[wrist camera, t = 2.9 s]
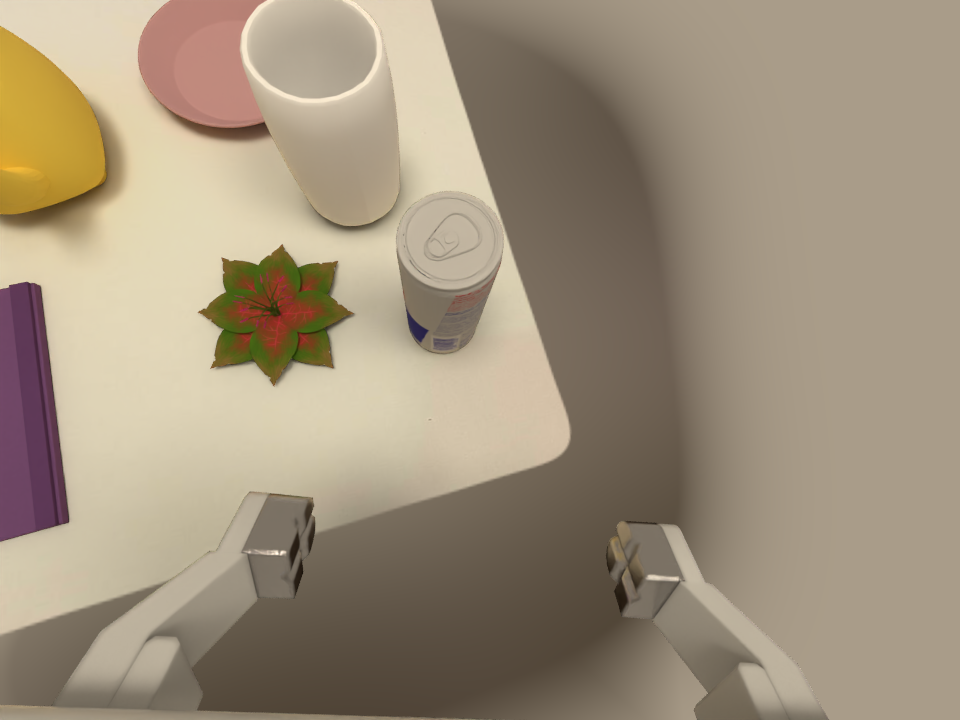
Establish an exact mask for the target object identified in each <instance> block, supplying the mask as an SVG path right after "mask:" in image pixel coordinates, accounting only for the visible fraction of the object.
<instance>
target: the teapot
mask: <svg viewBox="0 0 960 720" xmlns="http://www.w3.org/2000/svg"><path fill="white" fill-rule="evenodd" d="M106 177H107V172H106V170H105V155H104V147H103V141H102V137H101V133H100V129H99V125H98V122H97V120H96V117H95V115H94V113H93V110H92V108H91V107H90V105H89V103H88V102H87V100H86V98H85V97H84V95H83V94H82V93H81V91H80V90H79V89H78V87H77V86H76V85H75V84H74V83H73V82H72V81H71V79H69V78H68V77H67V76H66V75H65V74H64V73H63V72H62V71H61V70H60V69H59V68H58V67H57V66H56V65H55V64H54V63H53V62H51V61H50V60H49V59H48V58H47V57H45V56H44V55H43V54H42V53H40V52H39V51H38V50H36V49H35V48H34V47H32V46H31V45H29V44H28V43H26V42H25V41H24V40H22V39H21V38H19V37H18V36H16V35H14V34H13V33H11V32H10V31H8V30H6V29H5V28H3V27H1V26H0V214H19V213H24V212H29V211H33V210H37V209H40V208H44V207H47V206H50V205H54V204H57V203H59V202H62V201H65V200H68V199H70V198H72V197H75V196H77V195H80V194H82V193H84V192H86V191H88V190H90V189H92V188H93V187H96V186H99V185H101V184H102V183H103V182H104V181H105V180H106Z"/></svg>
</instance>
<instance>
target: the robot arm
mask: <svg viewBox="0 0 960 720" xmlns="http://www.w3.org/2000/svg"><path fill="white" fill-rule="evenodd" d="M313 507H314V503H313V498H311V497H301V496H291V495H281V494H272V493H261V492H249V493H248V494H247V495H246V496H245V497H244V499H243V501H242V503H241V505H240V506H239V508H238V510H237V512H236V514H235V516H234V518H233V520H232V522H231V523H230V525H229V527H228V529H227V531H226V533H225V535H224V537H223V539H222V540H221V542H220V544H219V546H218V548H217V550H216V551H209V552H207V553H206V554H205V555H203V556H202V557H201V558H199V559H198V560H196V561H195V562H194V563H192V564H191V565H190V566H188V567H187V568H186V569H184V570H183V571H182V572H180V573H179V574H177V575H176V576H175V577H173V578H172V579H171V580H169V581H168V582H167V583H165V584H164V585H163V586H161V587H160V588H158V589H157V590H156V591H154V592H153V593H152V594H151V595H149V596H148V597H146V598H145V599H144V600H142V601H141V602H140V603H138V604H137V605H135V606H134V607H133V608H131V609H130V610H129V611H127V612H126V613H125V614H123V615H122V616H121V617H119V618H118V619H116V620H115V621H114V622H112V623H111V624H110V625H108V626H107V627H106V628H104V629H103V630H102V631H101V632H100V633H99V634H98V636H97V638H96V639H95V640H94V642H93V643H92V645H91V647H90V648H89V649H88V651H87V653H86V654H85V655H84V657H83V659H82V660H81V662H80V663H79V665H78V666H77V668H76V669H75V671H74V672H73V674H72V675H71V677H70V678H69V680H68V681H67V683H66V684H65V686H64V687H63V689H62V690H61V692H60V693H59V695H58V696H57V698H56V700H55V701H54V702H53V704H52V705H51V706H18V705H17V706H16V705H0V720H494V719H463V718H429V717H395V716H361V715H358V716H357V715H327V714H293V713H259V712H224V711H197V708H198V706H199V704H200V701H201V699H202V696H203V692H202V689H201V687H200V685H199V683H198V680H197V678H196V676H195V674H194V672H193V670H192V667H193V666H194V665H195V664H196V663H197V662H198V661H199V660H200V659H201V658H202V657H203V656H204V655H205V654H206V653H207V652H208V651H209V650H210V649H211V648H212V647H213V645H214V644H215V643H216V642H217V641H218V640H219V639H220V638H221V637H222V636H223V635H224V634H225V633H226V632H227V631H228V630H229V629H230V628H231V627H232V626H233V625H234V624H235V623H236V622H237V621H238V620H239V619H240V618H241V617H242V616H243V615H244V614H245V613H246V612H247V610H249V608H250V607H251V606H252V605H253V604H254V603H255V602H256V601H257V600H258V598H291V599H294V598H295V595H296V592H297V589H298V586H299V583H300V580H301V577H302V574H303V565H302V561H303V560H304V559H305V558H306V557H307V556H308V555H309V553H310V550H311V547H312V543H313V538H314V534H315V517H314V516H313V515H312V514H311V513H312V510H313ZM616 531H617V534H618V535H617V536H615V537H613V538H612V539H611V540H610V542H609V544H608V546H607V554H606V559H607V566H608V570H609V574H610V575H611V576H612V578H613V579H614V580H615V581H616V582H617V586H616V588H615V595H616V599H617V602H618V605H619V609H620V612H621V616H622V617H633V618H645V619H653V622H654V624H655V625H656V626H657V628H658V629H659V630H660V631H661V633H662V634H663V635H664V637H665V638H666V639H667V640H668V642H669V643H670V644H671V646H672V647H673V648H674V649H675V651H676V652H677V653H678V655H679V656H680V657H681V658H682V660H683V661H684V662H685V663H686V665H687V666H688V667H689V669H690V670H691V671H692V673H693V674H694V675H695V677H696V678H697V679H698V680H699V682H700V683H701V684H702V686H703V687H704V688H705V689H706V691H707V692H708V694H707V695H706V696H705V697H704V698H703V699H702V700H701V701H700V702H699V703H697V705H696V707H695V708H694V712H695V715H696V718H697V720H829V719H828V718H827V716H826V714H825V712H824V710H823V709H822V707H821V705H820V704H819V701H818V700H817V698H816V696H815V694H814V692H813V691H812V689H811V687H810V685H809V683H808V682H807V680H806V678H805V676H804V675H803V673H802V671H801V669H800V667H799V665H798V664H797V663H796V662H795V661H794V660H793V659H792V658H791V657H790V656H789V655H788V654H786V653H785V652H784V651H783V650H782V649H781V648H780V647H779V646H778V645H777V644H776V643H775V642H774V641H772V640H771V639H770V638H769V637H768V636H767V635H766V634H765V633H764V632H763V631H762V630H760V629H759V628H758V627H757V626H756V625H755V624H754V623H753V622H752V621H751V620H750V619H749V618H747V616H745V615H744V614H743V613H742V612H741V611H740V610H739V609H738V608H737V607H736V606H735V605H734V604H732V603H731V602H730V601H729V600H728V599H727V598H726V597H725V596H724V595H723V594H722V593H721V592H720V591H718V590H717V589H716V588H715V587H714V586H713V585H712V584H711V583H705V581H704V579H703V577H702V575H701V572H700V571H699V568H698V566H697V564H696V562H695V560H694V558H693V556H692V553H691V551H690V549H689V547H688V545H687V543H686V541H685V539H684V537H683V534H682V532H681V530H680V529H679V528H678V527H677V526H676V525H669V524H656V523H648V522H631V521H622V522H620V523H619V524H618V526H617V528H616ZM495 720H496V719H495ZM497 720H498V719H497Z"/></svg>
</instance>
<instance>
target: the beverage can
mask: <svg viewBox="0 0 960 720" xmlns="http://www.w3.org/2000/svg"><path fill="white" fill-rule="evenodd" d="M396 244H397V257H398V263H399V269H400V275H401V281H402V287H403V294H404V300H405V306H406V312H407V318H408V324H409V329H410V332H411V334H412V336H413V338H414V339H415V340H416V342H417V343H418V344H419V345H420V346H422V347H423V348H425V349H427V350H429V351H431V352H435V353H451V352H454V351H457V350H459V349H461V348H462V347H464V346H465V345H466V344H467V343H468V342H469V341H470V340H471V338H472V336H473V334H474V332H475V329H476V327H477V324H478V322H479V319H480V316H481V314H482V311H483V309H484V306H485V303H486V301H487V298H488V296H489V293H490V290H491V288H492V285H493V283H494V280H495V278H496V275H497V272H498V270H499V267H500V264H501V259H502V253H503V246H504V236H503V230H502V227H501V224H500V222H499V220H498V218H497V216H496V214H495V213H494V212H493V210H492V209H491V208H490V207H489V206H488V205H486V204H485V203H484V202H483V201H481V200H479V199H478V198H476V197H474V196H472V195H469V194H466V193H462V192H453V191H444V192H438V193H434V194H431V195H428V196H426V197H424V198H422V199H420V200H419V201H417V202H416V203H414V204H413V205H412V206H411V207H410V208H409V209H408V210H407V211H406V213H405V214H404V216H403V217H402V219H401V221H400V223H399V227H398V230H397V236H396Z"/></svg>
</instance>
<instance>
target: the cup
mask: <svg viewBox="0 0 960 720" xmlns="http://www.w3.org/2000/svg"><path fill="white" fill-rule="evenodd" d="M240 54H241V59H242V64H243V68H244V70H245V73H246V76H247V78H248V81H249V84H250V87H251V89H252V92H253V95H254V97H255V100H256V102H257V105H258V107H259V109H260V112H261V114H262V116H263V118H264V121H265V123H266V125H267V128H268V130H269V132H270V134H271V136H272V138H273V140H274V142H275V144H276V146H277V148H278V149H279V151H280V153H281V155H282V157H283V159H284V161H285V162H286V164H287V166H288V168H289V170H290V171H291V173H292V175H293V176H294V178H295V180H296V181H297V183H298V185H299V187H300V188H301V190H302V191H303V193H304V194H305V196H306V197H307V199H308V200H309V202H310V203H311V205H312V206H313V208H314V209H315V210H316V211H317V212H318V213H319V214H321V215H322V216H323V217H325V218H327V219H328V220H330V221H332V222H334V223H338V224H341V225H344V226H359V225H363V224H368V223H372V222H373V221H375V220H377V219H379V218H381V217H383V216H384V215H385V214H386V213H388V212H389V211H390V210H391V209H392V207H393V205H394V204H395V202H396V200H397V197H398V193H399V190H400V163H399V137H398V123H397V112H396V103H395V97H394V90H393V84H392V77H391V73H390V68H389V63H388V58H387V53H386V49H385V44H384V40H383V36H382V33H381V29H380V28H379V26H378V25H377V24H376V22H375V21H374V20H373V18H372V17H371V16H370V15H369V14H368V13H367V12H366V11H365V10H363V9H362V8H361V7H360V6H359V5H358V4H356V3H354V2H353V1H351V0H267V1H265V2H263V3H262V4H260V5H259V6H258V7H257V8H256V9H255V10H254V12H253V13H252V14H251V15H250V17H249V18H248V20H247V22H246V24H245V26H244V29H243V31H242V33H241V40H240Z"/></svg>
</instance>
